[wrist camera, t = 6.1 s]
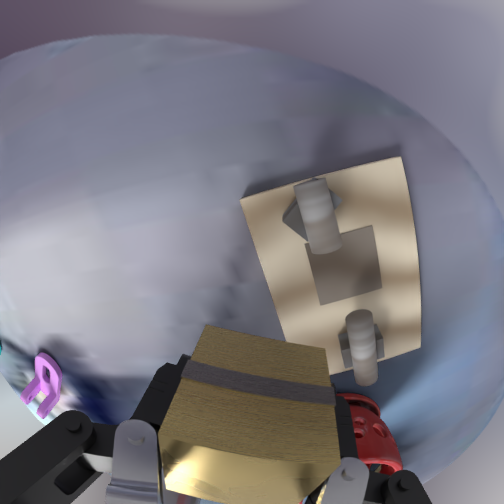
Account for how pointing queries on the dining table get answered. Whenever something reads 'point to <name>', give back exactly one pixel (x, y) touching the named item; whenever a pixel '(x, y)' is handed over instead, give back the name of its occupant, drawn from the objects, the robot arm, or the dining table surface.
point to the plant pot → (372, 435)
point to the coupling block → (250, 421)
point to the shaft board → (342, 264)
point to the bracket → (44, 384)
